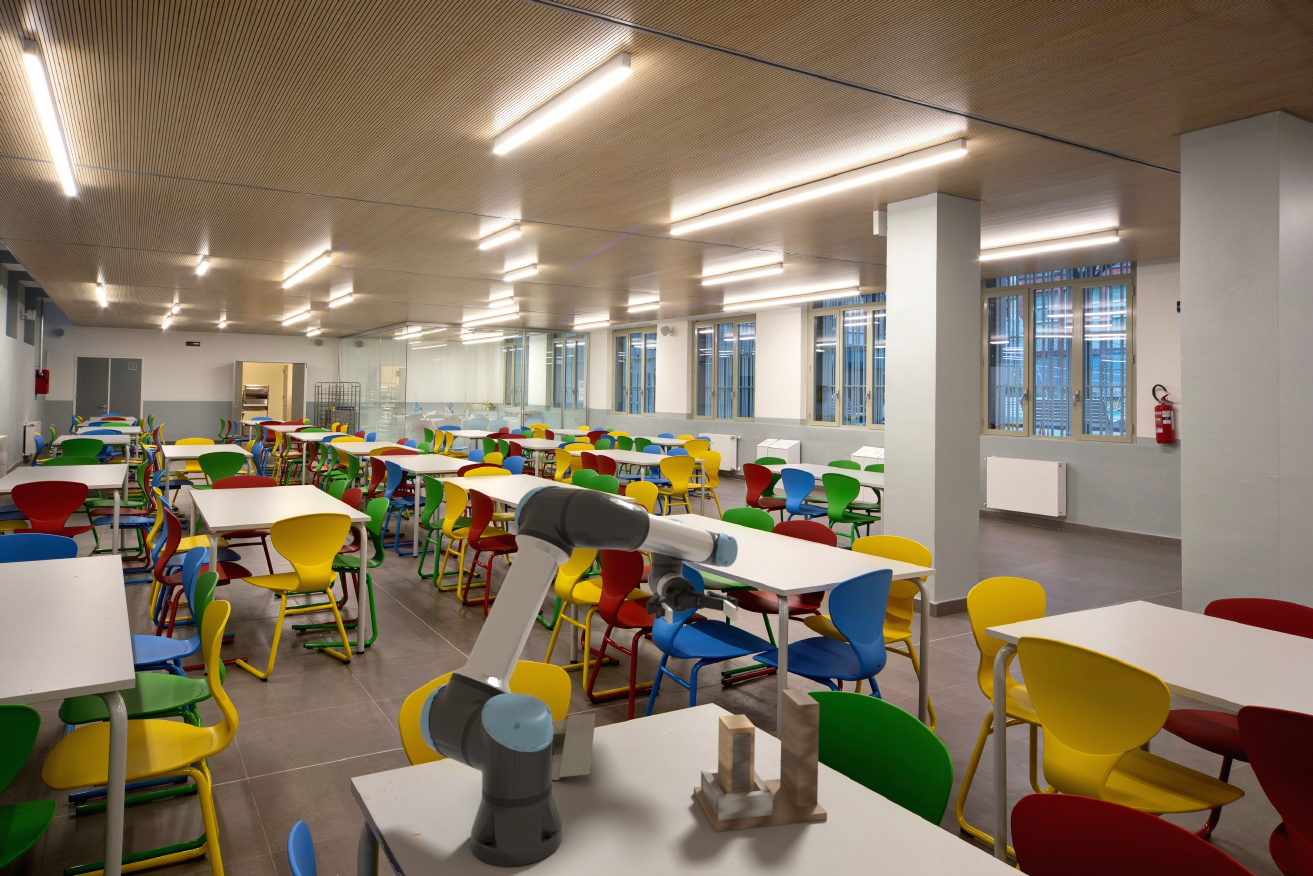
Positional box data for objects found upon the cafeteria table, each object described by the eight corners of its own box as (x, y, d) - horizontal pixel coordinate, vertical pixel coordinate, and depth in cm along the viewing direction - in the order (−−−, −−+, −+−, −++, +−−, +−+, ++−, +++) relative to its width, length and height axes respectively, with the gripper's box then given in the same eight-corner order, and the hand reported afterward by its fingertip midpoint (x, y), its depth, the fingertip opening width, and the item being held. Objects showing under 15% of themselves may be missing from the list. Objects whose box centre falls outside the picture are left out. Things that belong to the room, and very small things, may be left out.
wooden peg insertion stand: (715, 832, 132) (717, 718, 132) (693, 793, 146) (695, 690, 145) (826, 819, 137) (829, 709, 137) (795, 783, 151) (797, 683, 150)
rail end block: (727, 812, 137) (729, 729, 136) (717, 795, 143) (718, 716, 143) (754, 809, 138) (755, 727, 137) (742, 793, 144) (744, 714, 144)
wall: (601, 793, 154) (604, 723, 165) (591, 774, 148) (595, 703, 159) (523, 800, 156) (531, 730, 167) (510, 782, 150) (520, 710, 161)
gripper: (727, 606, 178) (760, 631, 158) (623, 611, 173) (643, 637, 152) (728, 574, 178) (761, 595, 157) (623, 578, 172) (643, 599, 152)
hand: (703, 615), depth 155 cm, fingers open, 13 cm apart
